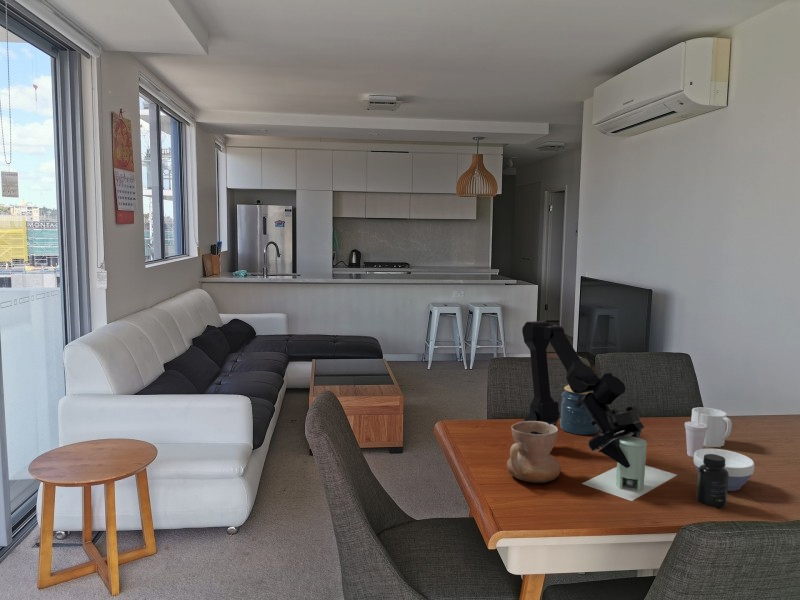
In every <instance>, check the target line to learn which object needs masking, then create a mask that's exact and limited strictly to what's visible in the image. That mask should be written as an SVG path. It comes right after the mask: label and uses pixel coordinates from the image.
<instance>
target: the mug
mask: <svg viewBox="0 0 800 600" xmlns="http://www.w3.org/2000/svg"><path fill="white" fill-rule="evenodd" d="M698 411H700V420H699V422H700V423H703V424H706V425H707V426H708V428H707V430H706V434H705V439H704V443H703V447H704V446H705V448H710V447H719V448H722V447H721V446H723V447H724V446H725V442H726V441H725V440H726V439H727V438H728V437H730V434H731V431H732V427H733V423H732V420H731V419H730V417H727V415H728V413H727V412H725V411H723V410H720V409H718V408H712V407H700V406H699V407H693V408H692V409H691V421H690V422H697V420H698Z"/></svg>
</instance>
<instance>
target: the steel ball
mask: <svg viewBox="0 0 800 600" xmlns="http://www.w3.org/2000/svg"><path fill="white" fill-rule="evenodd" d="M624 483H625V485H626V486H628V487H633V486H635V484H636V479H627V478H624Z"/></svg>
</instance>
